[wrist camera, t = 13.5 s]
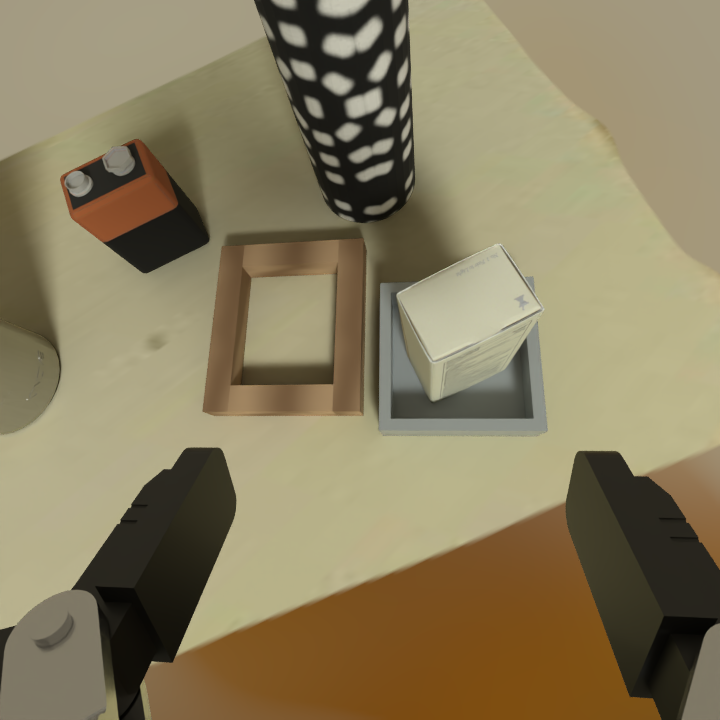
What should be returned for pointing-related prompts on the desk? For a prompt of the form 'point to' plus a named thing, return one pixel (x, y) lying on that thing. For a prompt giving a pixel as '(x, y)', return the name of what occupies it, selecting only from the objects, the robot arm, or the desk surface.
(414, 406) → the tray
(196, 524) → the robot arm
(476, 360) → the skincare box
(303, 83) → the white-spotted black cylinder
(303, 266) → the brown flat rectangular frame
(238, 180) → the desk surface
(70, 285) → the desk surface
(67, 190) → the battery
